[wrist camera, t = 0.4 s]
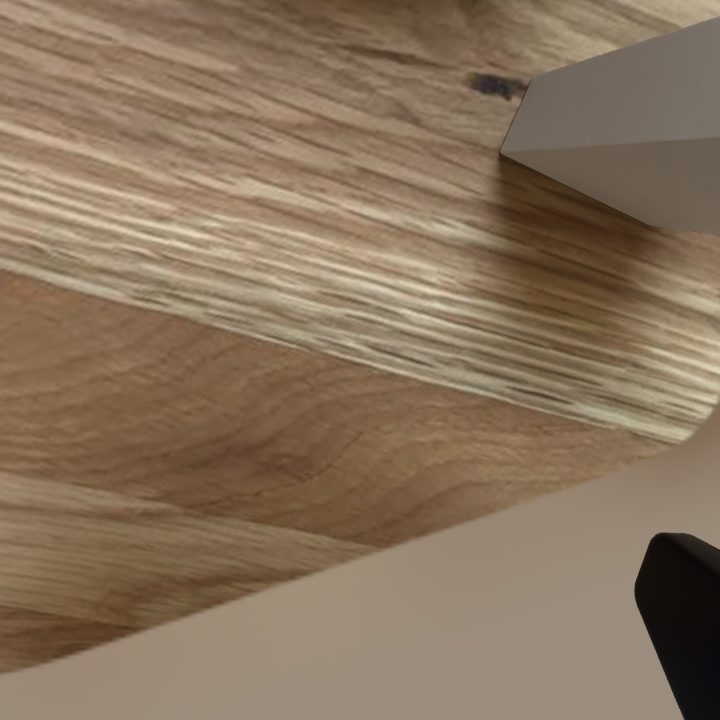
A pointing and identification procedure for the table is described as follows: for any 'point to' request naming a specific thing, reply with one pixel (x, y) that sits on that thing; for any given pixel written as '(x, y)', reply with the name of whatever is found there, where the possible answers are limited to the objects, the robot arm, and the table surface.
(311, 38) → the table surface
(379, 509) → the table surface
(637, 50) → the white book
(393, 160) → the table surface
